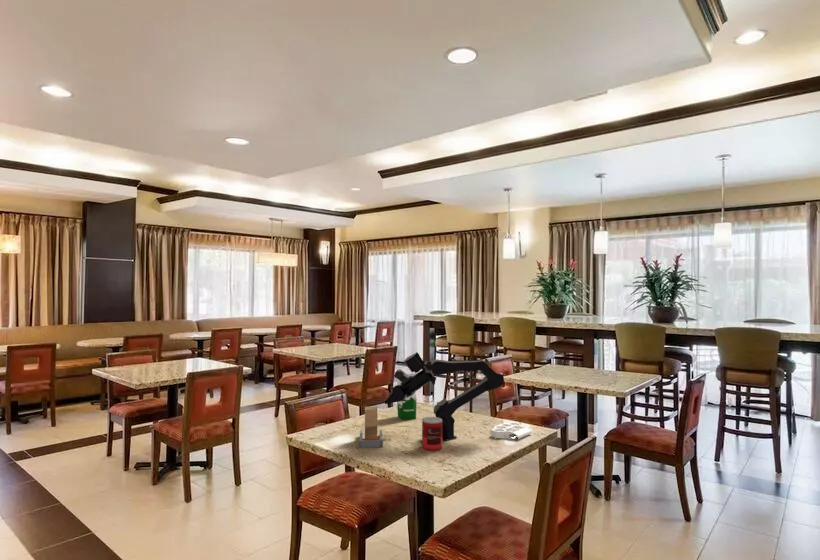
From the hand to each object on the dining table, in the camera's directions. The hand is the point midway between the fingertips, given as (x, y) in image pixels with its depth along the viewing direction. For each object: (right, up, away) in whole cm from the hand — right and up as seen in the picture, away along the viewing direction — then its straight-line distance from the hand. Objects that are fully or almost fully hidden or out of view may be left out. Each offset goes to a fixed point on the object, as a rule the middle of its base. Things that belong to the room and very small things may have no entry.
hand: (388, 401), depth 202 cm
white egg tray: (+51, -15, +2) cm, 53 cm away
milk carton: (+8, -16, +30) cm, 34 cm away
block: (-7, -14, -6) cm, 17 cm away
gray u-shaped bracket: (-7, -14, -8) cm, 17 cm away
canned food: (+18, -14, -16) cm, 28 cm away
